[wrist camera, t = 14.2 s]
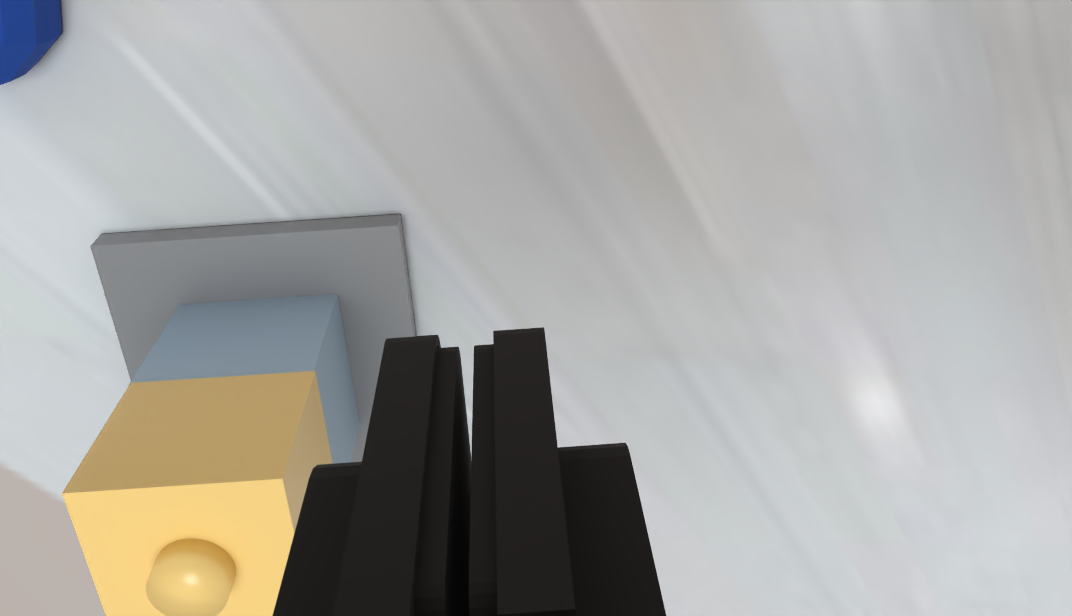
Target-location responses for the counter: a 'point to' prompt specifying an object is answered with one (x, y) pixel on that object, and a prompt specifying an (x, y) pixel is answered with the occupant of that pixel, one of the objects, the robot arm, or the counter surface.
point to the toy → (26, 34)
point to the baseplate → (265, 282)
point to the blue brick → (264, 351)
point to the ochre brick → (198, 493)
